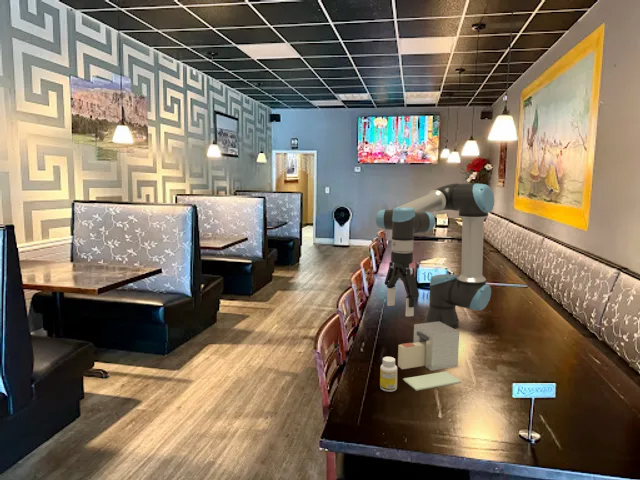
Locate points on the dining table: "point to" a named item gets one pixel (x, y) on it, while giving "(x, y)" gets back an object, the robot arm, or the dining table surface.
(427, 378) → the pad
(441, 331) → the plate
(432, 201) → the robot arm
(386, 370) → the supplement bottle
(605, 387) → the dining table surface
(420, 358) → the cream rectangular block
